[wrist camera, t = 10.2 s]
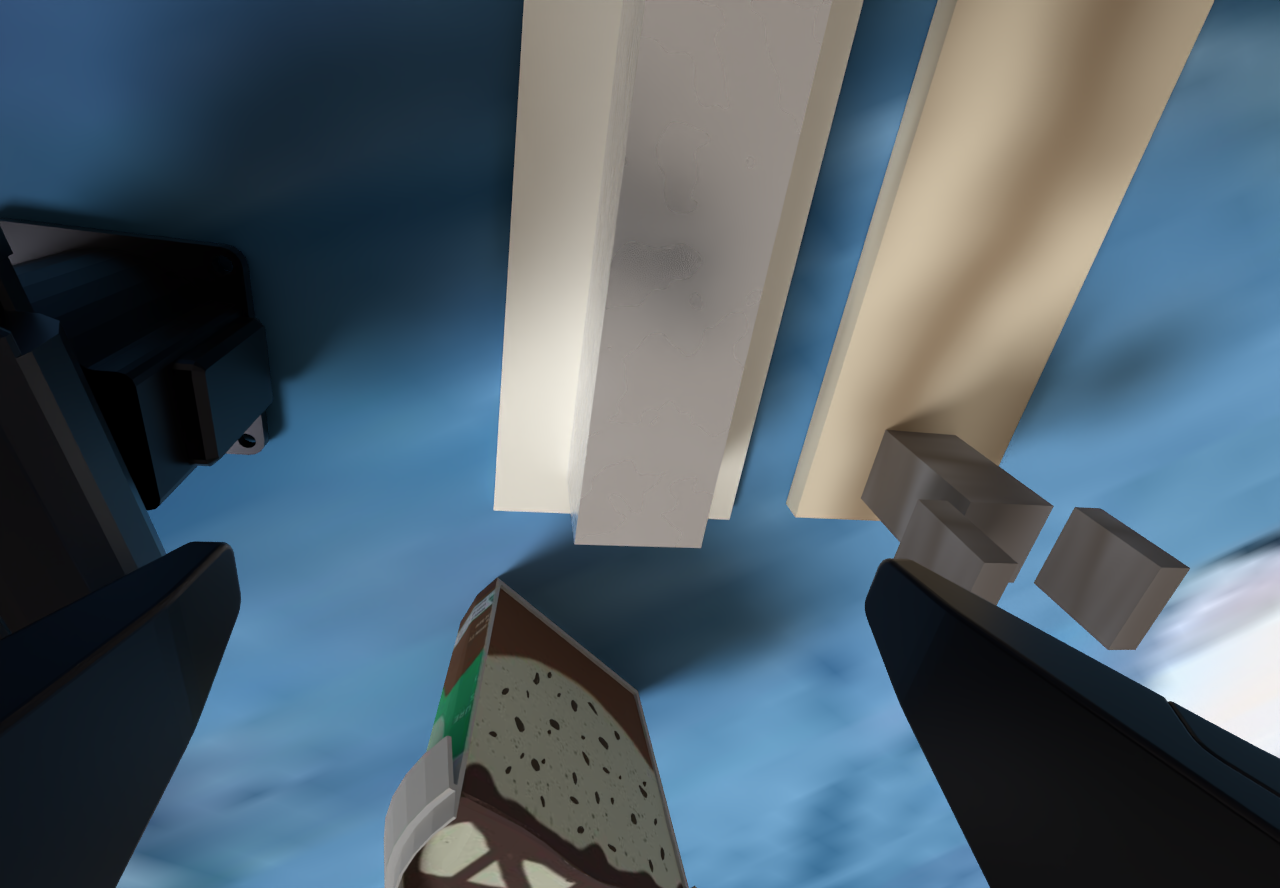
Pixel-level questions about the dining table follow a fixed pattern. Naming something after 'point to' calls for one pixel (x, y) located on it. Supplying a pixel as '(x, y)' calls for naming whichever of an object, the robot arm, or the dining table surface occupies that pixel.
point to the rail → (682, 254)
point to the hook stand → (994, 296)
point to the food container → (531, 769)
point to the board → (565, 232)
